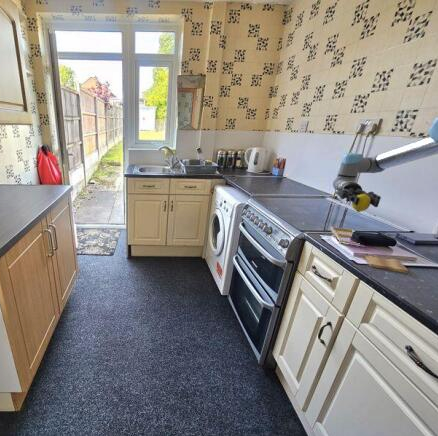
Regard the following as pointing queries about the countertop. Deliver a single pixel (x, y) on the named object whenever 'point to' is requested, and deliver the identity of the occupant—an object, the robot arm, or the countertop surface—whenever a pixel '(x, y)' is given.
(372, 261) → the board
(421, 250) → the countertop surface
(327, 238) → the countertop surface
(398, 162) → the robot arm
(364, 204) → the lemon
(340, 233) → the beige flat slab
